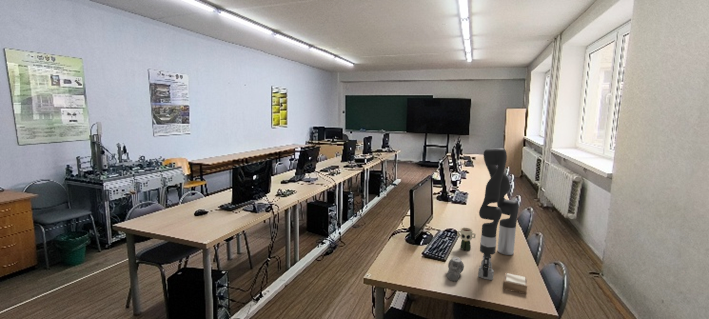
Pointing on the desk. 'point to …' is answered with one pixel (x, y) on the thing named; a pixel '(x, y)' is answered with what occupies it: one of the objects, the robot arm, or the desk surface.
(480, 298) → the desk surface
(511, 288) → the base
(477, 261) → the desk surface
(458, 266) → the pipe fitting
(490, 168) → the robot arm
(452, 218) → the desk surface
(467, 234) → the character mug
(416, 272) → the desk surface
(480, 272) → the padlock
